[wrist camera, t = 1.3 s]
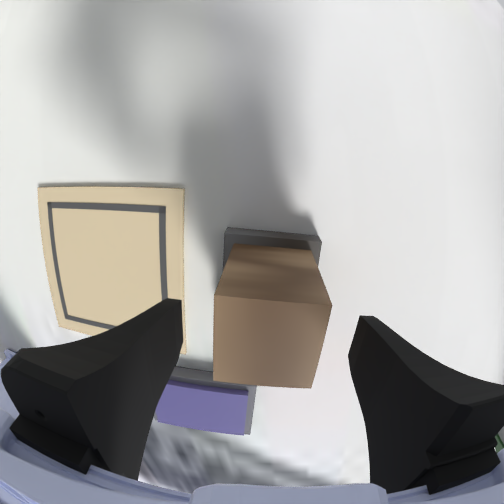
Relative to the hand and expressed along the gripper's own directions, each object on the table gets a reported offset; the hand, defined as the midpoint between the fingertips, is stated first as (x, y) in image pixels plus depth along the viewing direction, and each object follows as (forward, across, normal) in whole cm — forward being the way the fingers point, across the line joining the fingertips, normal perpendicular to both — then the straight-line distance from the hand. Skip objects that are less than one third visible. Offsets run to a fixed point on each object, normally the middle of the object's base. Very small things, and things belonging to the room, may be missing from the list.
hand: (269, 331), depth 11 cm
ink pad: (+6, +4, +11) cm, 13 cm away
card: (+6, +11, +1) cm, 12 cm away
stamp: (+6, 0, 0) cm, 6 cm away
